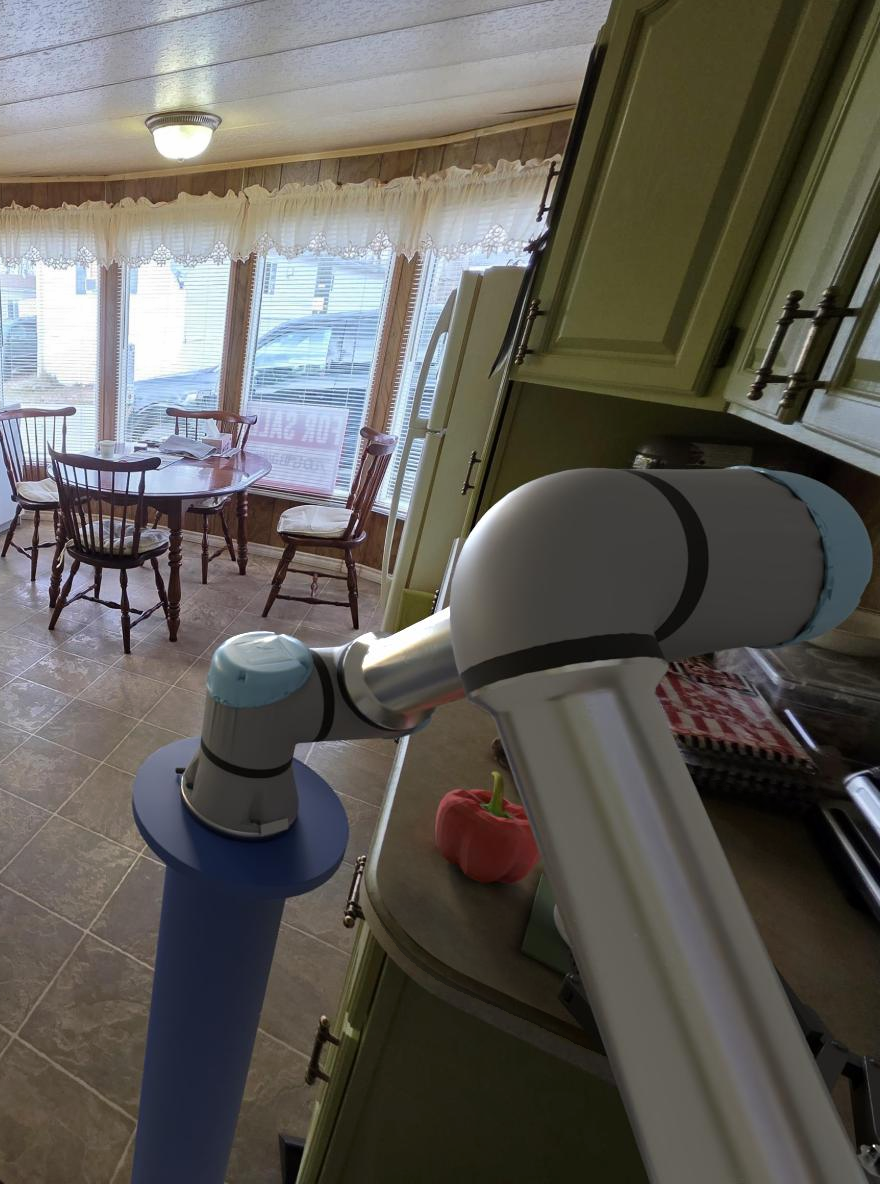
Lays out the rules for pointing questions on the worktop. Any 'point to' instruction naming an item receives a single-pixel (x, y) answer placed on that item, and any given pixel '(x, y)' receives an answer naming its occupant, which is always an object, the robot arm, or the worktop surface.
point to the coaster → (546, 932)
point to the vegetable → (486, 834)
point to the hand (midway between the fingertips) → (662, 943)
